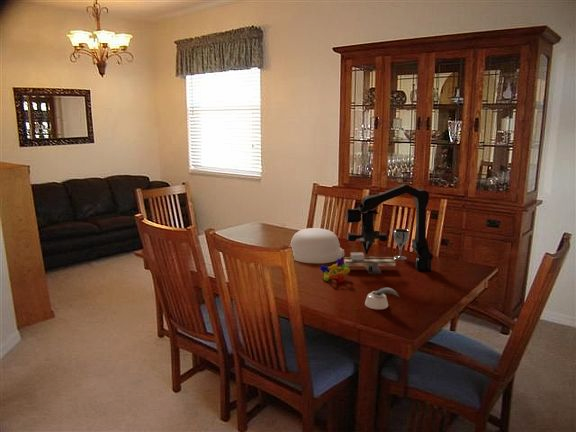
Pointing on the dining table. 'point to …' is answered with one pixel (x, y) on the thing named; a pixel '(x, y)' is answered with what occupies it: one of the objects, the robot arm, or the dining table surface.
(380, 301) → the inkwell
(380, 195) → the robot arm
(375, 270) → the pivot stand
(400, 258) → the wine glass
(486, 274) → the dining table surface
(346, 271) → the decorative model
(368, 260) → the beam
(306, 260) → the dome cover
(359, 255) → the steel block
